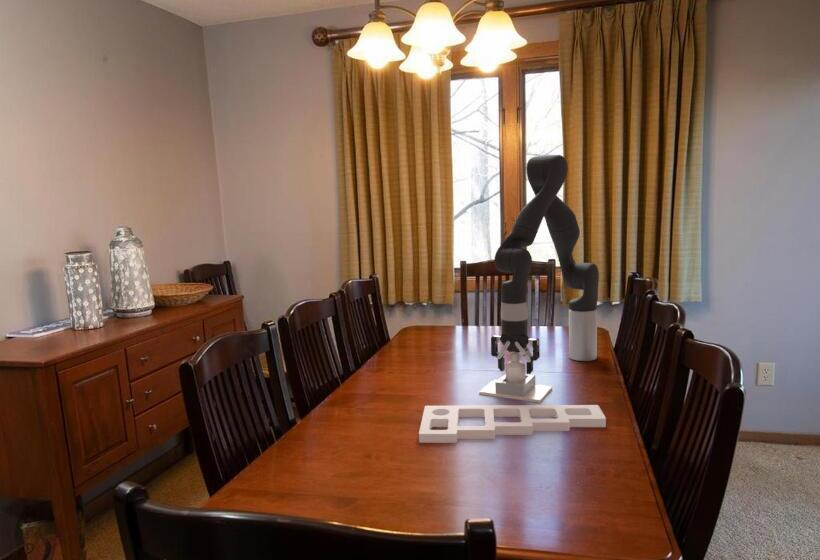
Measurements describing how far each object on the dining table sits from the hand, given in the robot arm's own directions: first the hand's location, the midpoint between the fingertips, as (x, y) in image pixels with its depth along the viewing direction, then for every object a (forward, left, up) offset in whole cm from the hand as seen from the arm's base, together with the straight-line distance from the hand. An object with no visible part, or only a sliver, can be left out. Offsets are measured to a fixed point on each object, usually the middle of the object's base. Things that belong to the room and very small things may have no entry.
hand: (515, 372), depth 160 cm
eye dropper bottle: (0, 0, -5) cm, 5 cm away
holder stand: (0, 0, -6) cm, 6 cm away
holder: (+24, +8, -7) cm, 26 cm away
